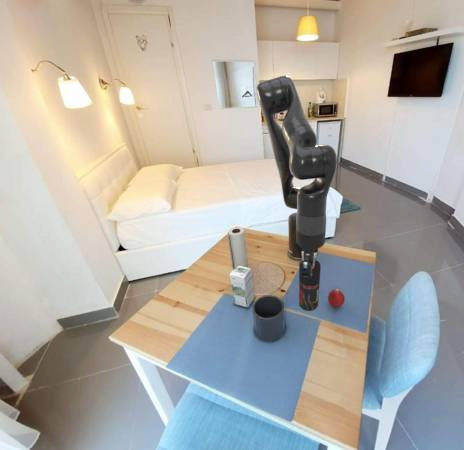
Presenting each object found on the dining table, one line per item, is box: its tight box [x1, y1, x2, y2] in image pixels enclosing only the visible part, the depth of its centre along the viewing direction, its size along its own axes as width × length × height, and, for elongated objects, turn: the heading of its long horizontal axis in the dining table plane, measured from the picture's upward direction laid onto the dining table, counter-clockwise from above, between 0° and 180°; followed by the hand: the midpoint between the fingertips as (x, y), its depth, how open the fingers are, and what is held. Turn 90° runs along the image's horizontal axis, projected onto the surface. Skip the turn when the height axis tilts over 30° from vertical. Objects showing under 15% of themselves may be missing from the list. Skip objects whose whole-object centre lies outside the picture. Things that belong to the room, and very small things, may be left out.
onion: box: [327, 288, 346, 308], centre depth 88 cm, size 6×6×8 cm
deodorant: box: [298, 259, 322, 312], centre depth 73 cm, size 6×6×15 cm
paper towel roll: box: [227, 226, 249, 271], centre depth 102 cm, size 7×6×21 cm
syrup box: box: [229, 265, 255, 308], centre depth 90 cm, size 6×6×14 cm
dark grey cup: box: [251, 294, 286, 342], centre depth 80 cm, size 10×10×10 cm
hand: (309, 277), depth 72 cm, fingers closed on deodorant, 6 cm apart
